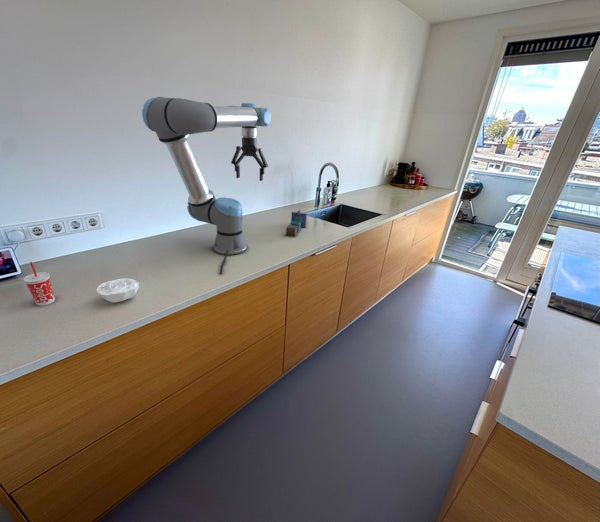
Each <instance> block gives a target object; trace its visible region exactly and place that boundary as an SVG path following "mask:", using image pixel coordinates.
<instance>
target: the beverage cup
mask: <svg viewBox="0 0 600 522" xmlns="http://www.w3.org/2000/svg"><path fill="white" fill-rule="evenodd" d="M29 264H30V267H31V269H32V271H33V273H31V274H28V275H26V276H24V277H23V279H22V282H24V284H26V287H27V289H28V290H29V293H30V295H31V296H32V298H33V301H34V302H35V304H36V305H37V306H39V307H41V306H47V305H51V304H52V303H54V302H55V301H56V297H55V294H54V289H53V287H52V282H51V279H50V277H51V275H50V273H49V272H45V271H41V272H36V269H35V266H34V264H33V262H32V261H30V262H29Z"/></svg>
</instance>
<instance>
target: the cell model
mask: <svg viewBox="0 0 600 522" xmlns="http://www.w3.org/2000/svg"><path fill="white" fill-rule="evenodd" d="M139 287H140V282H139V281H137V280H135V279H133V278H126V277H122V278H118V279H113V280H109V281H105V282H103V283H101V284H99V285H98V286H97V287H96V292H97V294H99V295H100V297H101V298H102V299H103V300H105V301H108V302H109V303H112V304H115V303H120V302H123V301H126V300H129V299H132V298H134V297H135V295H136V294H137V292H138V290H139Z"/></svg>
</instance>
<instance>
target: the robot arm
mask: <svg viewBox="0 0 600 522" xmlns="http://www.w3.org/2000/svg"><path fill="white" fill-rule="evenodd" d="M141 117H142V120H143V123H144V125H145V126H146V127H147V128H148V129H149V130H150V131H151V132H154V133H155V134H156V136H157V138H158V140H159V142H160V143H162V144H164V145H165V146H166V148H167V150H168V152H169V155H170V156H171V159H172V161H173V163H174V165H175V167H176V169H177V172H178V175H179V176H180V178H181V180H182V182H183V185H184V186H185V189H186V191H187V193H188V197H187V206H186V209H187V213H188V214H189V216H190V217H191V218H192V219H194V220H196V221H198V222H201V223H205V224H210V225H214V226H216V236H215V239H214V243H213V251H214V252H215V253H216V254H219V255H224V258H223V261H222V264H221V266H220V271H219V274H220V275H222V274H223V269H224V265H225V263H226V260H227V256H234V255H239V254H243V253H245V252H246V251H247V248H248V247H247V245H248V244H247V242H246V239H245V235H244V234H243V207H242V203H241V201H239V200H238V199H236V198H232V197H218V198H216V196H215V194H214V192H213V190H211V189H209V188H208V185H207V183H206V181H205V178H204V176H203V173H202V171H201V167H200V165H199V163H198V161H197V159H196V156H195V153H194V150H193V149H192V146H191V143H190V141H189V137H190V135H196V134H202V133H209V132H213V131H215V130H216V129H225V128H226V129H227V128H229V129H230V128H241V146H240V145H237V146H235V152H234V154H233V157H232V159H231V162H230V164H231V165H233V166H234V172H235V174H236V179H239V178H241V171H240V169H241V167H240V163H241V162H242V160H243V159H244V158H245V157H250V158H251V157H252V158H253V159H255V161H256V162H257V164H258V166H259V182H262V181H263V180H264V175H265V170H266V168H268V167H269V164H268V162H267V160H266V157H265V155H264V153H263V148H261V147H259V148H257V144H258V143H257V142H258V141H257V127H261V128H262V127H268V126H270V124H271V122H272V113H271V111H270V109H269V108H267V107H258V106H257V105H256V104H255V103H252V102H251V103H250V102H242V103H241V105H240V106H237V105H227V106H225V105H224V106H221V105H212V104H211V103H209V102H202V101H196V100H192V99H187V98H183V97H163V96H157V97H151V98H149V99H147V100H145V102H144V104H143V107H142V110H141ZM241 151H242V153H241V154H240V152H241ZM257 153H258V154H259V156H258V154H257ZM239 154H240V156H239Z"/></svg>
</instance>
